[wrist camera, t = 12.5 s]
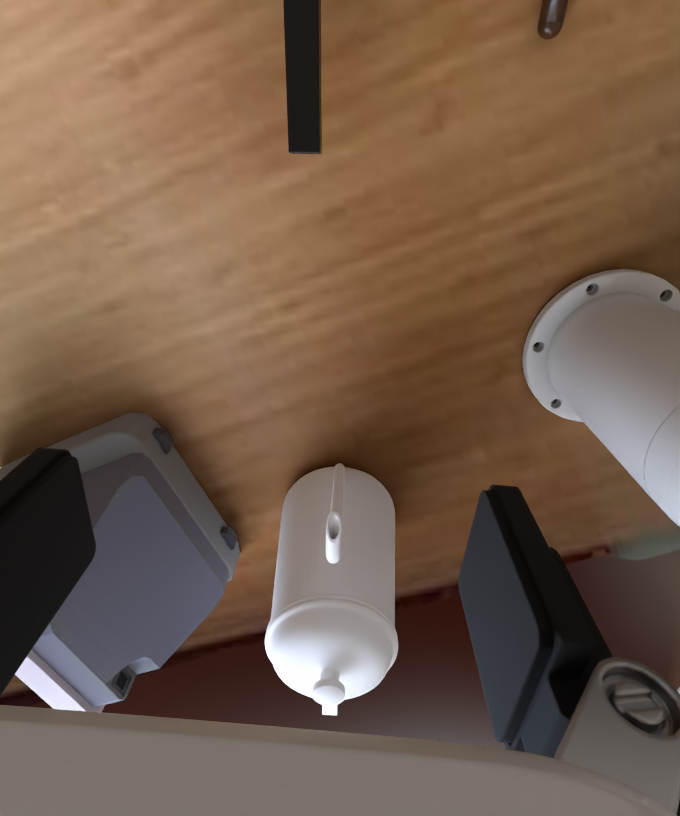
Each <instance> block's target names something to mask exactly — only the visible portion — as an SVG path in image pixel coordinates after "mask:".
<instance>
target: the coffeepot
mask: <svg viewBox="0 0 680 816" xmlns="http://www.w3.org/2000/svg"><path fill="white" fill-rule="evenodd" d="M394 613H395V509H394V505H393V501H392V498H391V496H390V494H389V493H388V491H387V490H386V489H385V487H384V486H383V485H382V484H381V483H380V482H379V481H378V480H377V479H375V478H374V477H372V476H371V475H369V474H367V473H365V472H363V471H360V470H357V469H353V468H348V467H344V465H343V464H340V463H339V464H336V465H335V467H327V468H321V469H318V470H315V471H312V472H310V473H308V474H306V475H305V476H303V477H302V478H300V479H299V480H298V481H297V482H296V483H295V484H294V485H293V486H292V487H291V488H290V490H289V491H288V493H287V495H286V497H285V500H284V503H283V508H282V518H281V527H280V537H279V546H278V556H277V565H276V575H275V584H274V594H273V603H272V612H271V620H270V622H269V624H268V627H267V631H266V635H265V648H266V652H267V655H268V657H269V659H270V661H271V662H272V663H273V666H274V669H275V671H276V673H277V674H278V676H279V677H280V678H281V680H282V681H283V682H284V683H285V684H286V685H288V686H289V687H290V688H292V689H294V690H295V691H297V692H299V693H301V694H303V695H306V696H308V697H312V698H313V699H314V700H315V701H316V702H317V703H319V704H322V714H324V715H337V704H340V703H341V702H342V701H343V700H345V699H350V698H354V697H357V696H360V695H362V694H365V693H367V692H369V691H370V690H372V689H373V688H375V687H376V686H377V685H378V684H379V683H380V682H381V681H382V679H383V678H384V677H385V675H386V673H387V671H388V670H389V669H390V667H391V666H392V665H393V663H394V661H395V659H396V657H397V653H398V639H397V633H396V630H395V628H394V623H395V620H394V619H395V616H394V615H395V614H394Z"/></svg>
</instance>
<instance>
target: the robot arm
mask: <svg viewBox="0 0 680 816" xmlns="http://www.w3.org/2000/svg"><path fill="white" fill-rule="evenodd" d="M589 285H590V288H589V289H588V290H587V287H588V286H589ZM661 293H662V294H661ZM537 342H538V344H537V345H536V346H534V344H535V343H537ZM522 361H523V371H524V375H525V378H526V381H527V384H528V386H529V388H530V390H531V391H532V393H533V394H534V396H535V397H536V398H537V399H538V401H539V402H540V403H541V404H542V405H543V406H544V407H545V408H547V409H548V410H549V411H551V412H552V413H554V414H556V415H558V416H560V417H562V418H566V419H570V420H573V421H580V422H584V423H585V424H586V425H587V426H588V427H589V429H590V430H591V431H592V432H593V433H594V434H595V435H596V436H597V437H598V439H599V440H600V441H601V442H602V443H603V444H604V445H605V446H606V448H607V449H608V450H609V451H610V452H611V453H612V454H613V455H614V457H615V458H616V459H617V460H618V461H619V462H620V463H621V464H622V466H623V467H624V468H625V469H626V470H627V471H628V472H629V473H630V475H631V476H632V477H633V478H634V479H635V480H636V481H637V482H638V483H639V485H640V486H641V487H642V488H643V489H644V490H645V491H646V492H647V494H648V495H649V496H650V497H651V498H652V499H653V500H654V501H655V503H656V504H658V505H659V507H660V508H661V509H662V510H663V511H664V512H665V513H666V514H667V515H668V516H669V518H671V519H672V520H673V521H674V522H675V523H676V524H677V525H678V526H679V527H680V292H679V291H678V289H677V288H675V287H674V286H673V285H671V284H670V283H669V282H667V281H666V280H664V279H662V278H660V277H657V276H655V275H653V274H650V273H646V272H643V271H639V270H630V269H616V270H607V271H603V272H599V273H596V274H592V275H589V276H587V277H585V278H583V279H580V280H578V281H576V282H574V283H572V284H571V285H569V286H568V287H567V288H565V289H564V290H562V291H561V292H559V293H558V294H557V295H556V296H555V297H554V298H553V299H552V300H551V301H550V302H548V303H547V304H546V305H545V307H544V308H543V309H542V311H541V312H540V313H539V315H538V316H537V317H536V319H535V321H534V323H533V324H532V326H531V328H530V330H529V332H528V335H527V338H526V341H525V345H524V351H523V359H522ZM553 400H554V401H553ZM95 551H96V542H95V538H94V533H93V528H92V524H91V519H90V514H89V510H88V505H87V500H86V496H85V491H84V486H83V482H82V477H81V472H80V468H79V463H78V460H77V458H76V457H73V456H71V453H70V452H69V451H68V450H65V449H54V448H38V449H36V450H35V451H34V452H32V453H31V454H30V455H29V456H28V457H27V458H25V459H24V460H23V461H22V462H21V463H20V464H19V465H17V466H16V467H15V468H14V469H13V470H12V471H11V472H9V473H8V474H7V475H6V476H5V477H4V478H2V479H1V480H0V695H1V693H2V692H3V691H4V689H5V688H6V686H7V685H8V684H9V682H10V681H11V679H12V678H13V676H14V675H15V673H16V672H17V670H18V669H19V667H20V666H21V664H22V663H23V661H24V660H25V659H26V657H27V656H28V654H29V653H30V651H31V650H32V648H33V647H34V645H35V644H36V642H37V641H38V639H39V638H40V636H41V635H42V634H43V632H44V631H45V629H46V628H47V626H48V625H49V623H50V622H51V620H52V619H53V617H54V616H55V614H56V613H57V611H58V610H59V609H60V607H61V606H62V604H63V603H64V601H65V600H66V598H67V597H68V595H69V594H70V592H71V591H72V589H73V588H74V586H75V585H76V584H77V582H78V581H79V579H80V578H81V576H82V575H83V573H84V572H85V570H86V569H87V567H88V566H89V564H90V563H91V562H92V560H93V558H94V555H95ZM459 591H460V595H461V599H462V604H463V608H464V612H465V616H466V620H467V624H468V629H469V633H470V637H471V641H472V645H473V650H474V653H475V658H476V662H477V666H478V670H479V675H480V678H481V683H482V687H483V691H484V695H485V699H486V704H487V708H488V712H489V716H490V720H491V724H492V728H493V733H494V736H495V738H496V740H497V741H498V742H504V744H505V748H506V749H501V748H495V747H487V746H478V745H469V744H459V743H449V742H440V741H430V740H421V739H411V738H400V737H389V736H378V735H367V734H355V733H344V732H343V733H342V732H331V731H320V730H309V729H297V728H285V727H274V726H262V725H261V726H260V725H249V724H238V723H224V722H212V721H201V720H189V719H176V718H164V717H150V716H139V715H138V716H137V715H126V714H114V713H100V712H87V711H74V710H61V709H47V708H34V707H21V706H7V705H0V816H680V688H679V689H678V690H676V689H675V688H674V687H673V686H672V685H671V684H670V683H669V682H668V681H667V680H665V678H663V677H662V676H660V675H659V674H658V673H656V672H655V671H653V670H652V669H650V668H649V667H647V666H644V665H642V664H640V663H638V662H636V661H633V660H629V659H625V658H613V657H612V654H611V652H610V651H609V649H608V647H607V645H606V643H605V641H604V639H603V637H602V635H601V633H600V631H599V629H598V628H597V626H596V624H595V622H594V620H593V618H592V616H591V614H590V612H589V610H588V608H587V606H586V605H585V603H584V601H583V599H582V597H581V595H580V593H579V591H578V589H577V587H576V585H575V583H574V582H573V580H572V578H571V576H570V574H569V572H568V570H567V568H566V566H565V564H564V562H563V560H562V559H561V557H560V555H559V554H558V552H557V551H556V550H555V549H553V548H551V547H548V545H547V543H546V541H545V539H544V537H543V535H542V533H541V531H540V529H539V527H538V525H537V523H536V521H535V519H534V517H533V515H532V513H531V511H530V509H529V507H528V505H527V503H526V501H525V499H524V497H523V495H522V493H521V491H520V490H519V488H518V487H513V486H501V485H491V486H490V488H489V490H488V491H485V490H483V491H482V492H481V494H480V497H479V501H478V505H477V509H476V513H475V517H474V520H473V524H472V528H471V532H470V536H469V539H468V543H467V547H466V551H465V555H464V558H463V562H462V566H461V570H460V574H459Z"/></svg>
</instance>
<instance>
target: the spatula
mask: <svg viewBox="0 0 680 816" xmlns="http://www.w3.org/2000/svg"><path fill="white" fill-rule="evenodd" d="M567 4H568V0H543V4H542V9H541V13H540V18H539V23H538V33H539V35H540V36H541V37H542V38H543V39H552V38H554V37H555V36H556V35H557V34H558V33H559V32H560V30H561V28H562V25H563V21H564V17H565V12H566V8H567Z"/></svg>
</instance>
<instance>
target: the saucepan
mask: <svg viewBox="0 0 680 816" xmlns="http://www.w3.org/2000/svg"><path fill="white" fill-rule="evenodd" d="M284 29H285V58H286V87H287V115H288V144H289V153H292V154H321V153H322V127H321V0H284Z"/></svg>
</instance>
